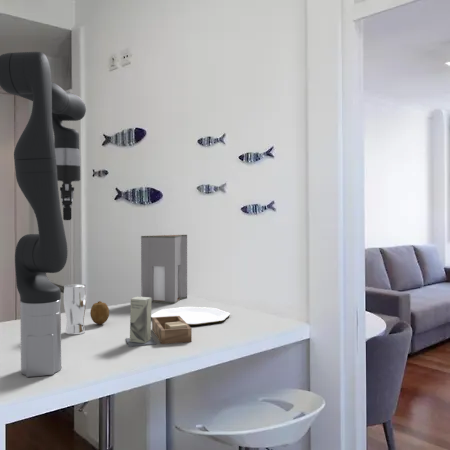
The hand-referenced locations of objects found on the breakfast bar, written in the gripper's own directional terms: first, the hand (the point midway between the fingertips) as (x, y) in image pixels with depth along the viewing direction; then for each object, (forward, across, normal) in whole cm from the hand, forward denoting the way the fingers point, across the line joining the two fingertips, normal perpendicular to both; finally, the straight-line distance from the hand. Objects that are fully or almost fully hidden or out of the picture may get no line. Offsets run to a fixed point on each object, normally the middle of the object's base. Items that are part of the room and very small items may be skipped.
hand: (67, 219), depth 146 cm
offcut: (+34, -7, -31) cm, 46 cm away
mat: (+36, -7, -20) cm, 42 cm away
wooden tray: (+36, -2, -30) cm, 47 cm away
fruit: (+36, +19, -10) cm, 42 cm away
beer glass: (+36, +10, -2) cm, 38 cm away
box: (+36, -7, -20) cm, 42 cm away
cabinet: (+36, +53, -40) cm, 76 cm away
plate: (+37, +21, -42) cm, 60 cm away
